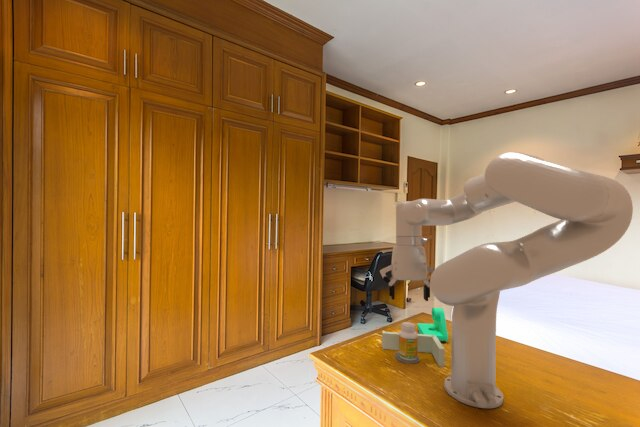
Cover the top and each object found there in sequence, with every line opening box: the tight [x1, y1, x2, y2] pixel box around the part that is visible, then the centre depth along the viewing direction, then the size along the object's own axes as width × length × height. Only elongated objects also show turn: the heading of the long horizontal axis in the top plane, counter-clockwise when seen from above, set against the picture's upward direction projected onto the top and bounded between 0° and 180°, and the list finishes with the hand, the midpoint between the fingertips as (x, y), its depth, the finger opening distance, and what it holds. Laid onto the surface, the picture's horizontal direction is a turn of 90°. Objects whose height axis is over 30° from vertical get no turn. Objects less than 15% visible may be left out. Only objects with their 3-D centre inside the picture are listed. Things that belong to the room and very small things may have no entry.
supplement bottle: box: [398, 321, 418, 361], centre depth 89 cm, size 5×5×10 cm
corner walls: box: [381, 330, 446, 368], centre depth 90 cm, size 10×17×5 cm, turn 82°
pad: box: [394, 351, 420, 365], centre depth 89 cm, size 7×7×1 cm
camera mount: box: [417, 307, 449, 342], centre depth 107 cm, size 12×8×10 cm, turn 174°
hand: (409, 299), depth 89 cm, fingers open, 9 cm apart
